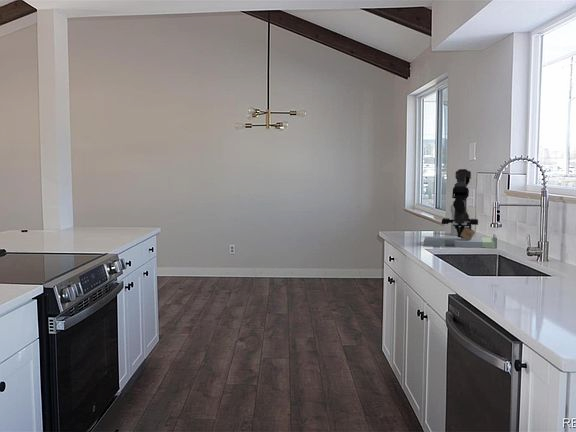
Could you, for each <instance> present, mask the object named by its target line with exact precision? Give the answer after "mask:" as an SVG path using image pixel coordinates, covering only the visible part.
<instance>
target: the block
mask: <svg viewBox="0 0 576 432" xmlns="http://www.w3.org/2000/svg"><path fill="white" fill-rule="evenodd" d="M468 227H469V226H468ZM468 227H465V228H464V230H463V231H462V233H461V235H460V236H461V237H463V238H465V239H466V240H471V238H474V237H473V236H474V235H475V234H476V231H475V230H473V229H472V228H471V229H470V228H468Z"/></svg>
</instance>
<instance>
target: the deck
mask: <svg viewBox="0 0 576 432" xmlns="http://www.w3.org/2000/svg"><path fill="white" fill-rule="evenodd" d="M441 246H453V247H452V248H473V247H485V248H484V249H497V248H498V237H497V235H496V233H493V235H492V237H472V238H471V240H466V239H465V238H461V237H457V236H431V235H430V236H425V237H424V239H423V247H441Z"/></svg>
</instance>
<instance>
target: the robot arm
mask: <svg viewBox="0 0 576 432" xmlns="http://www.w3.org/2000/svg"><path fill="white" fill-rule="evenodd" d="M455 179H456V183H455V184H454V187H452V194H451V197H452V199H454V200H453V201H454V203H453V202H452V204H453V206H454V208H455V213H454V220H452V219H450V218H448V217H444V218H442V219H441V224H442V225H448V224H451V223H453V226H455V229H456V230H457V233H458V234H457V236H456V237H461V236H460V235H461V233H462V231H463V230H464V228H465V226H468V228H470V229H472V225H474V226H476V225H477V226H478V225H479V219H478V218H470V215H469V213H468V212H467V211H466V206H467V205H468V203H467V201H468V198H469V193H470V189H469V187H468V185H469V184H470V183H471V182H470V180H472V171H471V170H468V169H466V168H460V169H457V171H455ZM459 226H461V227H459ZM461 238H463V237H461Z"/></svg>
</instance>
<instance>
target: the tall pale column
mask: <svg viewBox="0 0 576 432" xmlns="http://www.w3.org/2000/svg"><path fill="white" fill-rule="evenodd" d="M454 201H455V200H453V201H452V204H451V205H450V213H451V220H454V213H455V208H454V206H453V203H454ZM469 207H470V206H469V205H468V204H467V206H466V211H467V213H468V212H469ZM459 227H461V226H459ZM465 227H469V226H465ZM457 234H458V233H457V230H456V229H455V226H453V223H450V236H451V237H457Z"/></svg>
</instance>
